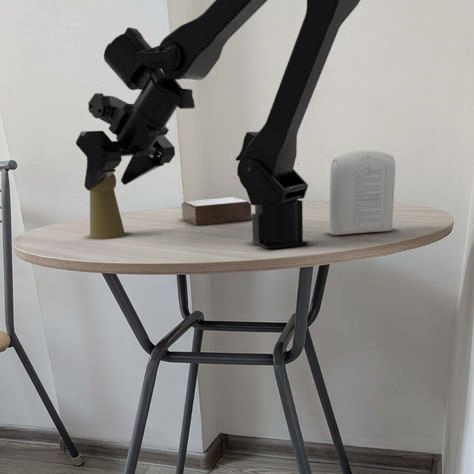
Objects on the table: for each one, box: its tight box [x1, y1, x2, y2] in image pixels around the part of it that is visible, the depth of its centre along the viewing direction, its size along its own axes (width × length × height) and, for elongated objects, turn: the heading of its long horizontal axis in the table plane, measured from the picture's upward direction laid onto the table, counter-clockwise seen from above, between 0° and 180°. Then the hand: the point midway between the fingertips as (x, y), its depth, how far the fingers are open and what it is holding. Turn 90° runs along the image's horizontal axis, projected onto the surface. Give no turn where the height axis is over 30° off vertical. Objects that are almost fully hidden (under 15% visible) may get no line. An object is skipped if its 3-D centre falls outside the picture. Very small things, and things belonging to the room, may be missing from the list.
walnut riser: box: [181, 196, 252, 226], centre depth 114 cm, size 11×10×4 cm
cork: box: [88, 172, 126, 240], centre depth 100 cm, size 6×6×11 cm
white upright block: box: [329, 150, 396, 236], centre depth 91 cm, size 10×4×12 cm, turn 104°
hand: (105, 185), depth 99 cm, fingers open, 9 cm apart
